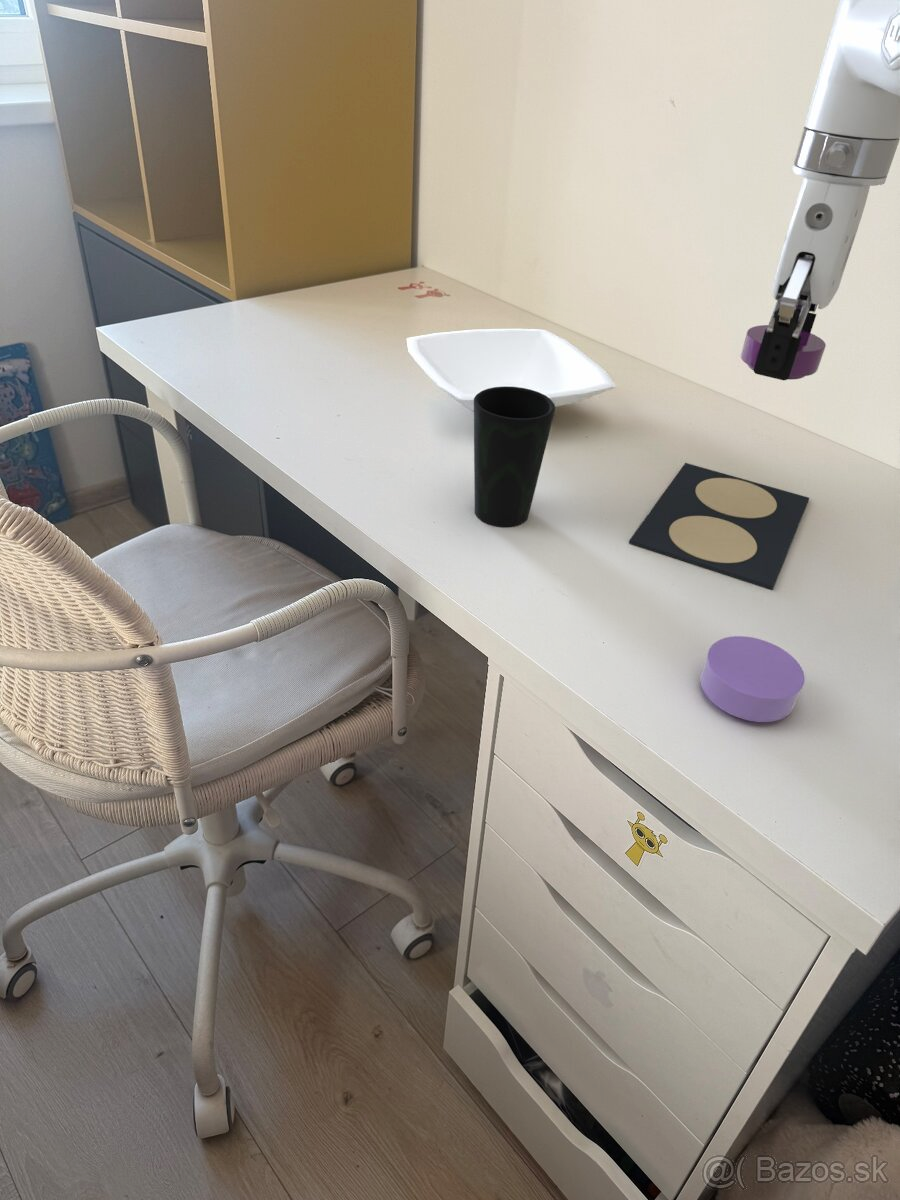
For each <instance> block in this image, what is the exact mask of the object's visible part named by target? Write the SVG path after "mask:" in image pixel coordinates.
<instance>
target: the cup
mask: <svg viewBox="0 0 900 1200" xmlns="http://www.w3.org/2000/svg"><path fill="white" fill-rule="evenodd" d="M555 411H556V407H555V404H554V403H553V402H552V400H551V399H550V398H548V397H547V396H546V395H543V394H541V393H539V392H537V391H533V390H530V389H526V388H520V387H505V386H504V387H494V388H489V389H486V390H483V391H481V392H480V393H478V394H477V395H476V396H475V398H474V411H473V453H474V454H473V471H474V472H473V473H474V474H473V475H474V478H473V479H474V481H473V482H474V484H473V485H474V487H473V488H474V515H475V516H476V518H477V519H479V520H480V521H481V522H483V523H485V524H487V525H490V526H494V527H499V528H512V527H513V528H514V527H517V526H520V525H522V524H524V523H526V522H527V521H528V518H529V516H530V512H531V507H532V505H533V500H534V496H535V492H536V488H537V484H538V479H539V476H540V472H541V468H542V464H543V460H544V456H545V451H546V447H547V443H548V440H549V436H550V430H551V428H552V424H553V419H554V416H555Z"/></svg>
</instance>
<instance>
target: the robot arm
mask: <svg viewBox="0 0 900 1200" xmlns="http://www.w3.org/2000/svg"><path fill="white" fill-rule="evenodd" d="M899 143H900V0H839V1H838V5H837V10H836V12H835V15H834V20H833V22H832V26H831V30H830V33H829V37H828V41H827V44H826V47H825V52H824V55H823V59H822V62H821V65H820V69H819V72H818V77H817V80H816V83H815V86H814V90H813V93H812V97H811V101H810V104H809V108H808V111H807V115H806V118H805V121H804V127H803V129H802V133H801V135H800V140H799V144H798V147H797V150H796V154H795V156H794V157H795V158H794V160H793V164H792V168H791V172H793V173H794V174H795V175H798V176H800V177H803V179H802V181H801V182H802V183H801V185H800V189H799V192H798V195H797V198H796V201H795V204H794V208H793V211H792V214H791V218H790V222H789V225H788V228H787V232H786V235H785V239H784V242H783V246H782V249H781V253H780V257H779V260H778V263H777V268H776V272H775V276H774V280H773V284H772V289H771V296H772V298H774V299H773V300H775V301H776V303H775V305H774V308H773V311H772V314H771V317H770V320H769V322H768V324H767V325H768V328H767V329H766V330H765V333H764V336H763V339H762V343H761V346H760V350H759V353H758V356H757V360H756V363H755V366H754V371H753V373H754V374H755V375H759V376H763V377H767V378H772V379H775V380H780V381H787V380H789V379H788V378H789V376H790V373H791V370H792V367H793V364H794V361H795V358H796V355H797V352H798V349H799V346H800V343H801V340H802V337H801V336H799V335H800V332H801V330H803V331H806V332H809V333H811V334H812V330H813V326H814V323H815V320H816V317H817V313H816V310H817V309H818V310H823V309H825V308H827V307H828V306H829V305H830V304H831V301H832V300H833V299H834V298H835V295H836V294H837V292H838V290H839V288H840V285H841V283H842V279H843V275H844V272H845V269H846V265H847V263H848V260H849V257H850V254H851V250H852V247H853V245H854V241H855V238H856V236H857V233H858V229H859V226H860V224H861V221H862V217H863V213H864V210H865V207H866V203H867V200H868V196H869V193H870V188H871V186H872V187H876V186H882V185H884V184H886V181H887V178H888V175H889V173H890V169H891V166H892V163H893V161H894V157H895V155H896V151H897V149H898V146H899Z"/></svg>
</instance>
